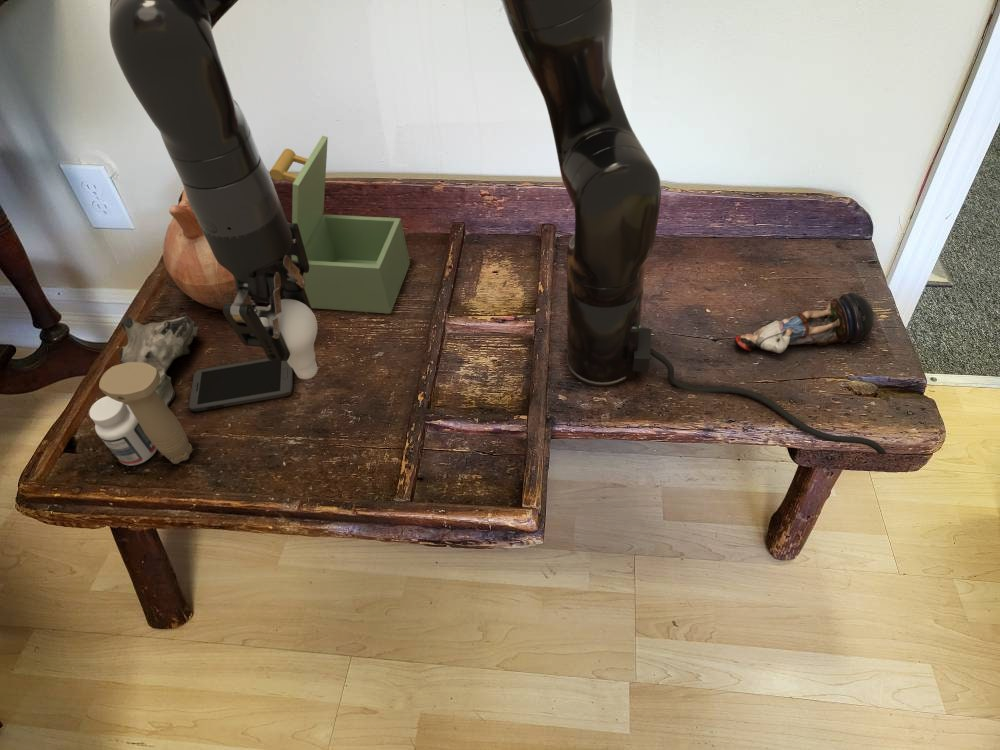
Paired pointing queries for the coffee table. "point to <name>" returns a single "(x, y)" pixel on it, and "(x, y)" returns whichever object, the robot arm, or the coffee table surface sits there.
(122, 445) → the pill bottle
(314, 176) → the chest lid
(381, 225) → the chest
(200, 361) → the coffee table surface
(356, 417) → the coffee table surface
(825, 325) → the figurine
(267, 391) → the cell phone
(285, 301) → the lightbulb
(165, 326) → the decorative stone
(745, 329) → the coffee table surface
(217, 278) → the jug
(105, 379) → the handle
